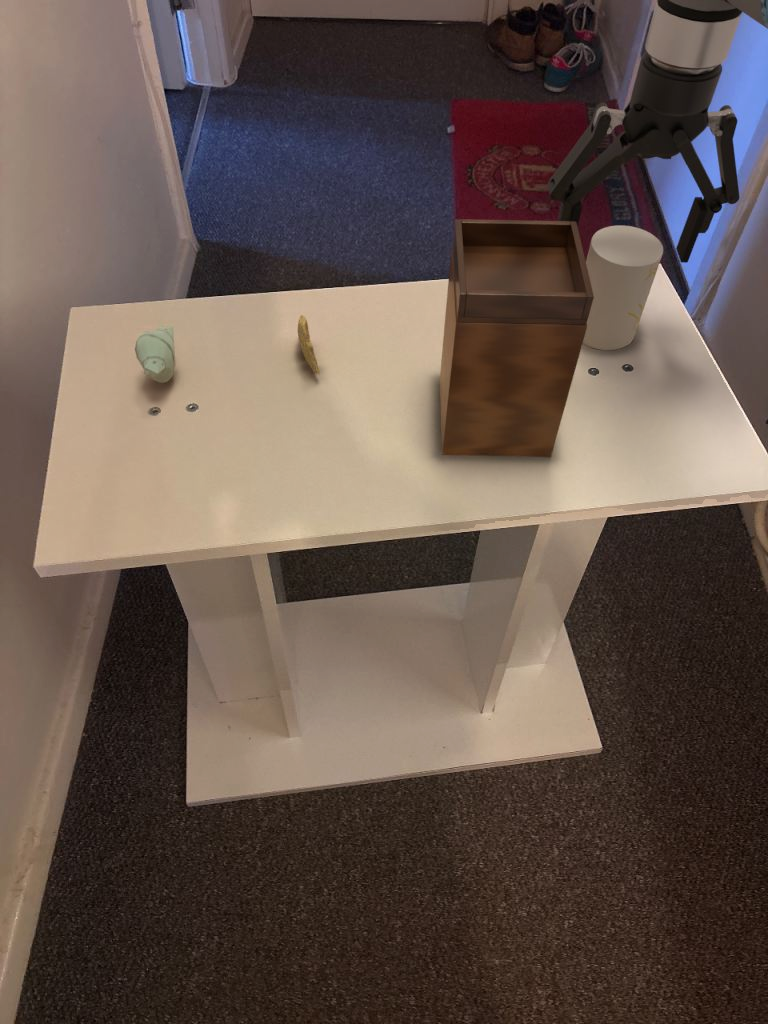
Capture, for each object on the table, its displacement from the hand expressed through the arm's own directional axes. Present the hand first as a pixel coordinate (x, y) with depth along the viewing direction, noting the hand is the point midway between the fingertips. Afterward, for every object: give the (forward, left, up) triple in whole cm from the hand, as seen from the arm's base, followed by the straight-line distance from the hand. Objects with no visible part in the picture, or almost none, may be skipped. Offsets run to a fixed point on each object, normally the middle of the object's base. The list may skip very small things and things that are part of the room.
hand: (623, 254), depth 88 cm
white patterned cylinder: (0, 0, -11) cm, 11 cm away
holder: (+15, +16, +7) cm, 23 cm away
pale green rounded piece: (+54, +11, -11) cm, 56 cm away
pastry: (+37, +7, -11) cm, 39 cm away
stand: (+15, +16, -11) cm, 24 cm away
